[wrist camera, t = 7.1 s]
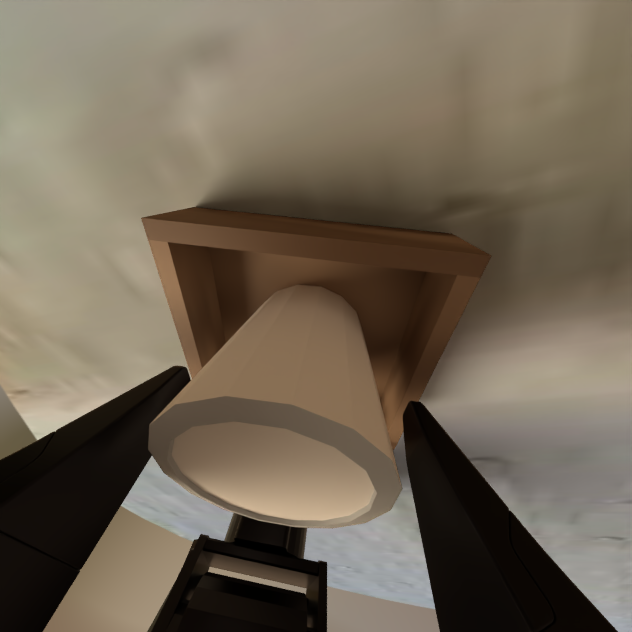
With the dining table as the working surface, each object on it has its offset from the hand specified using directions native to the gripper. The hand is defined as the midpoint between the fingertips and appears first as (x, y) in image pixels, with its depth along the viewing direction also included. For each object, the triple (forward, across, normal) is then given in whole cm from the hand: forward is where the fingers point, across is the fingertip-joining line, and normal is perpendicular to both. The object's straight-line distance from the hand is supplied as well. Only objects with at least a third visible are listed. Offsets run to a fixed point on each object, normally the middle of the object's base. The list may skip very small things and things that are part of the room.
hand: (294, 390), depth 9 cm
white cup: (+4, 0, 0) cm, 4 cm away
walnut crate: (+4, 0, 0) cm, 4 cm away
